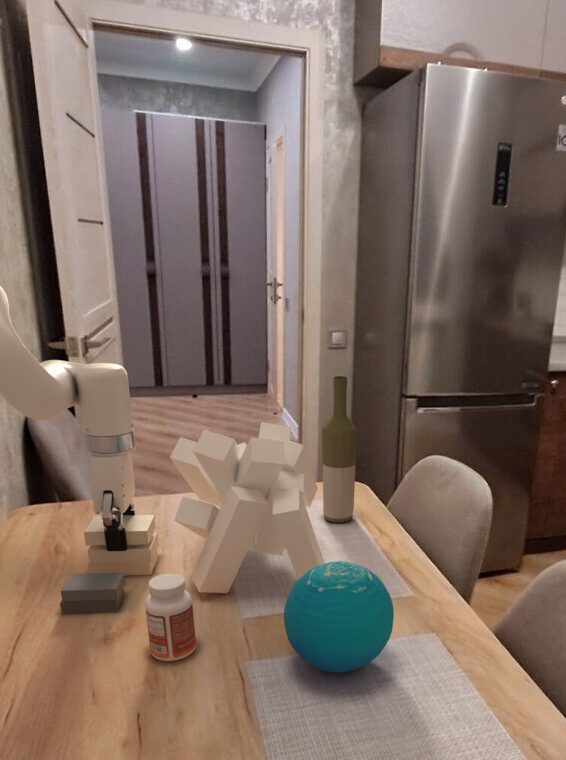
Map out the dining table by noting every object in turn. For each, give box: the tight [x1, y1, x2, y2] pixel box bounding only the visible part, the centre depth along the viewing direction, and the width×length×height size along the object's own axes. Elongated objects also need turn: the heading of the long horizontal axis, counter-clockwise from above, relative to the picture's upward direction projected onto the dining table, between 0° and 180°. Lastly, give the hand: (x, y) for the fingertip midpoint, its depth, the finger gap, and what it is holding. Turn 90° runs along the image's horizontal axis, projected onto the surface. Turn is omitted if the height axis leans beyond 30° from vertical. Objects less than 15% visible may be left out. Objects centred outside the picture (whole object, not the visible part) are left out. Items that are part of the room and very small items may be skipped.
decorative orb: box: [283, 560, 395, 674], centre depth 91 cm, size 15×15×15 cm
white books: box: [87, 532, 159, 577], centre depth 116 cm, size 10×7×5 cm
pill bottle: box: [144, 573, 197, 662], centre depth 92 cm, size 6×6×11 cm
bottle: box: [321, 375, 358, 524], centre depth 136 cm, size 7×7×30 cm
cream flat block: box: [83, 514, 157, 547], centre depth 114 cm, size 10×7×2 cm
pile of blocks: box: [169, 421, 325, 594], centre depth 115 cm, size 35×30×35 cm
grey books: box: [59, 573, 126, 615], centre depth 104 cm, size 8×6×4 cm
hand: (122, 540), depth 115 cm, fingers closed on cream flat block, 7 cm apart
